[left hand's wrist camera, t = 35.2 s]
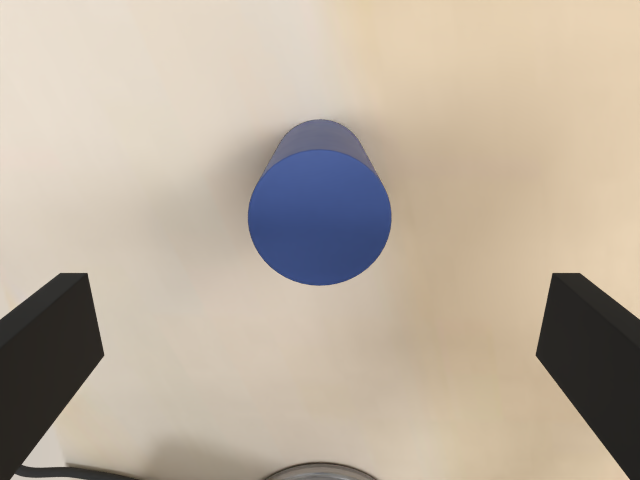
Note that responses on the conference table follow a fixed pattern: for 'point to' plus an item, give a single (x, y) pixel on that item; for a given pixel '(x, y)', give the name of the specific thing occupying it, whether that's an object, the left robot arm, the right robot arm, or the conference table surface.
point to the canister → (319, 206)
